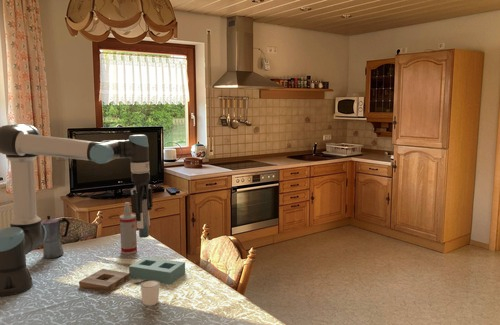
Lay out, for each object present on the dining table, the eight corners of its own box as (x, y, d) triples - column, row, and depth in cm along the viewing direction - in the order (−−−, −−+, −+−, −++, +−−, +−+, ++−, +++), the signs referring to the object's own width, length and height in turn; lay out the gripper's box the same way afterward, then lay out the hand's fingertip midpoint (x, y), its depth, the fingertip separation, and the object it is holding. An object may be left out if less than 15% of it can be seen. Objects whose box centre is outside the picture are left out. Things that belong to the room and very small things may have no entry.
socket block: (108, 292, 164) (107, 286, 164) (79, 287, 169) (79, 281, 169) (130, 278, 177) (129, 273, 177) (102, 274, 182) (102, 268, 182)
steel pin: (145, 238, 176) (143, 200, 174) (137, 237, 178) (135, 200, 176) (150, 235, 180) (148, 198, 178) (142, 234, 182) (140, 198, 179)
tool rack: (170, 284, 172) (170, 272, 171) (129, 277, 179) (129, 266, 178) (185, 273, 183) (184, 262, 182) (145, 267, 190) (145, 256, 189)
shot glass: (152, 295, 161) (151, 278, 160) (163, 301, 157) (163, 283, 156) (137, 302, 156) (136, 284, 155) (148, 307, 152) (148, 289, 151)
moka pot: (37, 254, 206) (34, 214, 204) (71, 250, 213) (68, 211, 210) (36, 261, 198) (33, 219, 195) (71, 256, 204) (69, 215, 202)
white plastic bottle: (121, 249, 213) (119, 201, 210) (136, 248, 215) (134, 200, 212) (121, 254, 206) (119, 204, 202) (137, 253, 208) (135, 203, 205)
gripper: (135, 175, 166) (138, 233, 169) (159, 169, 182) (162, 222, 185) (119, 174, 169) (123, 231, 172) (145, 168, 184) (147, 220, 188)
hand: (143, 226), depth 178 cm, fingers closed on steel pin, 4 cm apart
